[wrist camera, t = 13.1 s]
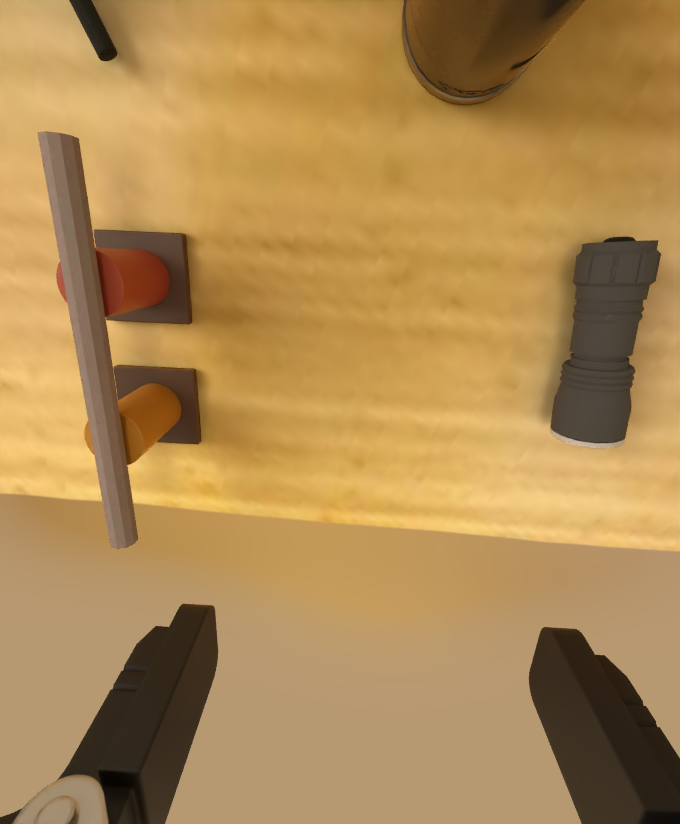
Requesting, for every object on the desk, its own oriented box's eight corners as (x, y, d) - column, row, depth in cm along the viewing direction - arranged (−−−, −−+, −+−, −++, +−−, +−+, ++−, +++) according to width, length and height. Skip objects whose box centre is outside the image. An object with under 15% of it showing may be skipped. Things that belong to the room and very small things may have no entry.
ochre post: (117, 364, 38) (58, 391, 30) (196, 368, 37) (155, 396, 30) (127, 437, 40) (75, 478, 32) (201, 441, 40) (165, 483, 32)
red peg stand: (98, 229, 34) (25, 222, 26) (185, 233, 34) (137, 227, 26) (111, 319, 36) (47, 335, 29) (192, 323, 36) (149, 340, 29)
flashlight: (564, 240, 33) (602, 236, 28) (636, 237, 33) (687, 233, 28) (539, 424, 38) (568, 449, 33) (601, 422, 38) (639, 448, 33)
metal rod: (118, 532, 34) (104, 548, 32) (53, 140, 25) (28, 130, 23) (142, 533, 34) (129, 549, 32) (85, 141, 25) (63, 132, 23)
